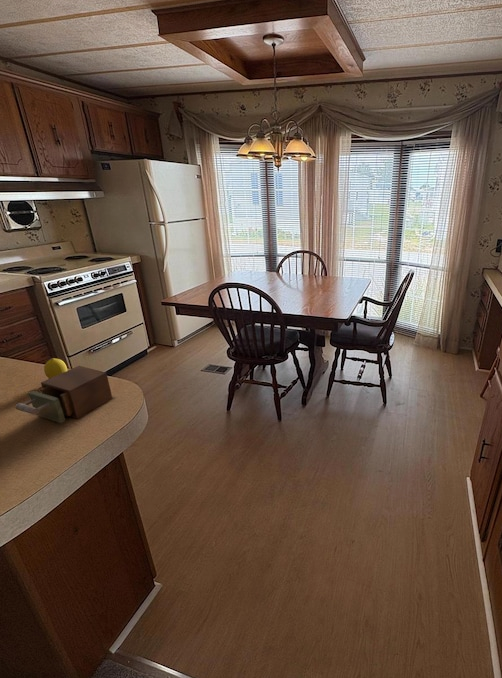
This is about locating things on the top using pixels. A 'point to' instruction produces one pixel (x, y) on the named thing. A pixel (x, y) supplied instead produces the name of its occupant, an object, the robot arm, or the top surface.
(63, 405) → the drawer
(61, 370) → the lemon
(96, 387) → the cabinet
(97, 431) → the top surface
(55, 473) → the top surface
